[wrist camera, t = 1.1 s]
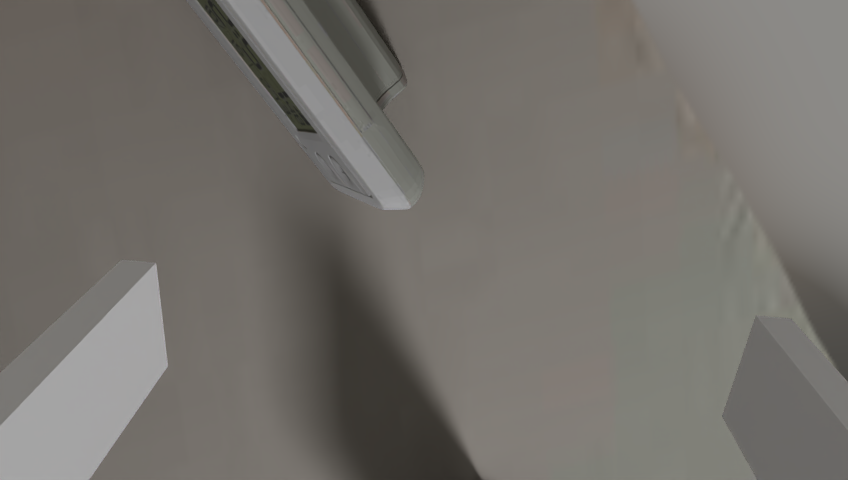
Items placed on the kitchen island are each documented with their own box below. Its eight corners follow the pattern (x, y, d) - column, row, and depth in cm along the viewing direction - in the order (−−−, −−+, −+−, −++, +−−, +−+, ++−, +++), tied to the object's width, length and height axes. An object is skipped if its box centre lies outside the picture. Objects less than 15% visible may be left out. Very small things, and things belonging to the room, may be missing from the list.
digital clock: (146, -73, 32) (47, -92, 22) (310, -151, 31) (283, -207, 22) (295, 207, 38) (270, 289, 28) (436, 147, 38) (459, 210, 28)
